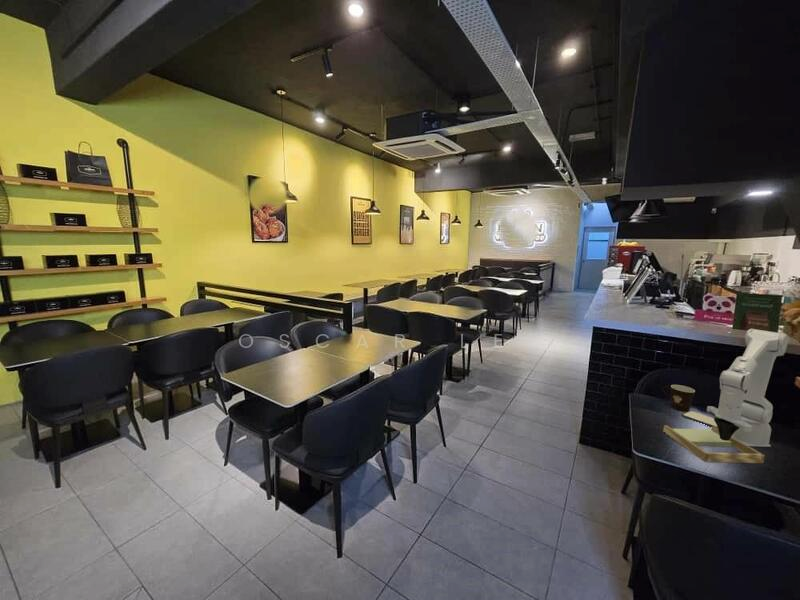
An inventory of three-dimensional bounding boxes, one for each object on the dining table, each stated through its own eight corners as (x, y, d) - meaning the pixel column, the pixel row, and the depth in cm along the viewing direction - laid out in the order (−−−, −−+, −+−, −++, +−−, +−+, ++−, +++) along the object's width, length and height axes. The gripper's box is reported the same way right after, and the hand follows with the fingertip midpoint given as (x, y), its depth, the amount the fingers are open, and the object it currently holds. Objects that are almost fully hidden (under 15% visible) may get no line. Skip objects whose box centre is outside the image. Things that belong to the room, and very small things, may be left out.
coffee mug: (697, 413, 149) (700, 392, 148) (678, 412, 149) (681, 392, 148) (676, 401, 161) (679, 382, 159) (658, 401, 161) (661, 382, 160)
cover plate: (708, 434, 132) (709, 429, 132) (730, 448, 123) (731, 442, 123) (669, 434, 132) (669, 428, 132) (688, 447, 124) (689, 441, 123)
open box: (713, 433, 133) (714, 426, 132) (763, 463, 114) (764, 455, 113) (663, 432, 133) (664, 425, 133) (705, 461, 114) (706, 453, 114)
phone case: (680, 417, 147) (727, 434, 132) (680, 414, 146) (728, 431, 132) (690, 413, 150) (737, 429, 136) (690, 410, 150) (737, 426, 136)
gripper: (700, 395, 123) (695, 428, 125) (739, 413, 109) (732, 451, 110) (720, 395, 123) (714, 429, 125) (761, 414, 108) (754, 451, 110)
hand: (724, 439), depth 118 cm, fingers closed
